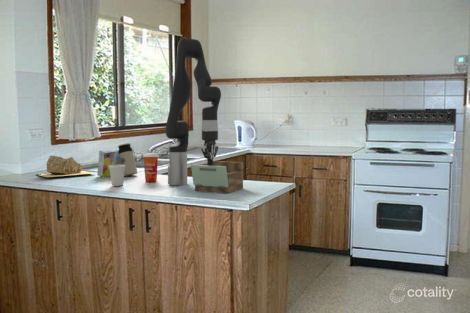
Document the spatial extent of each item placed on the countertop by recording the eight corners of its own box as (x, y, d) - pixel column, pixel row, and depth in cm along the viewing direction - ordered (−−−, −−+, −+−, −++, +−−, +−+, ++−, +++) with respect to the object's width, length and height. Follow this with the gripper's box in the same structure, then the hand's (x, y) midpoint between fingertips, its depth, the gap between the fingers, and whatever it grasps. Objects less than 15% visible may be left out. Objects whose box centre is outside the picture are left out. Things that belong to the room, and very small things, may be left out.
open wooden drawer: (194, 190, 240) (194, 163, 239) (210, 186, 254) (210, 160, 253) (228, 193, 232) (228, 165, 231) (242, 188, 247) (243, 162, 245)
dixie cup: (105, 185, 258) (105, 165, 257) (116, 183, 265) (116, 164, 264) (118, 186, 254) (117, 166, 253) (129, 184, 261) (128, 165, 260)
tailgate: (192, 186, 238) (189, 165, 234) (194, 185, 239) (191, 164, 236) (226, 189, 230) (224, 167, 227) (228, 187, 232) (226, 166, 229)
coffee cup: (140, 181, 270) (140, 154, 269) (147, 179, 278) (147, 152, 276) (154, 182, 268) (154, 154, 266) (161, 180, 275) (161, 153, 274)
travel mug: (134, 174, 296) (127, 145, 298) (139, 172, 290) (133, 142, 291) (121, 177, 291) (115, 147, 293) (127, 174, 285) (120, 144, 286)
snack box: (126, 171, 306) (128, 147, 302) (131, 174, 302) (134, 149, 299) (96, 175, 289) (99, 149, 286) (102, 177, 286) (105, 152, 282)
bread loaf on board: (46, 176, 280) (41, 151, 286) (38, 192, 296) (33, 168, 301) (95, 172, 296) (89, 148, 302) (85, 188, 312) (80, 164, 318)
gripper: (209, 129, 239) (209, 165, 241) (195, 130, 227) (196, 168, 229) (223, 129, 236) (223, 165, 238) (210, 130, 224) (210, 169, 226)
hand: (210, 167), depth 234 cm, fingers closed
